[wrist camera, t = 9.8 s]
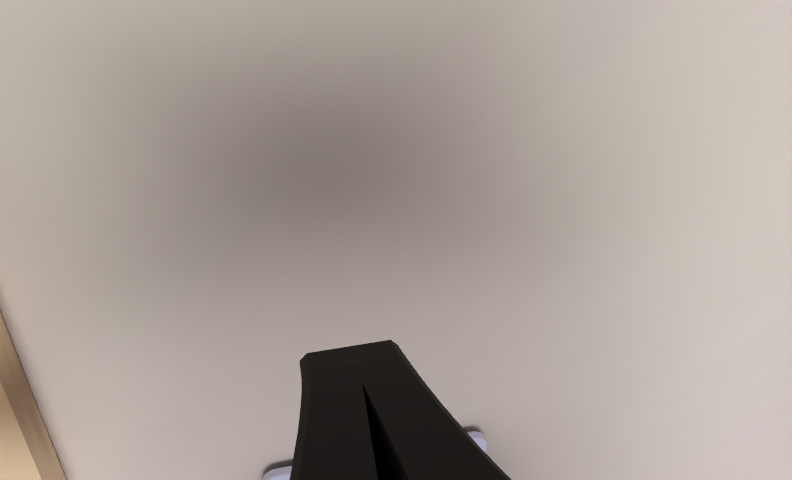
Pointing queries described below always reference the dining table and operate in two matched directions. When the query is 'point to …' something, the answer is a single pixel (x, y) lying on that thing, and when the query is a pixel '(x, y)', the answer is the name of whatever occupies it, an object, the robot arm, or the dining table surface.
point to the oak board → (22, 423)
